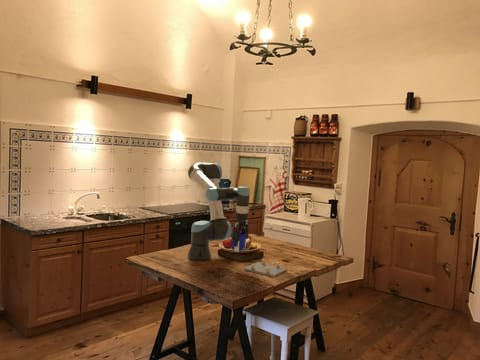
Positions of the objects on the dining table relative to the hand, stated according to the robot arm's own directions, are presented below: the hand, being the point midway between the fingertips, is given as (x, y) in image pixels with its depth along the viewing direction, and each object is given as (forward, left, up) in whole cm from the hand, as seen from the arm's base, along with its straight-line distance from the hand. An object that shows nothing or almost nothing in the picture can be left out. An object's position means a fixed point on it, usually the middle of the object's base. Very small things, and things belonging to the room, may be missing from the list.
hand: (239, 250), depth 242 cm
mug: (0, +1, -1) cm, 1 cm away
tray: (+14, +7, -11) cm, 19 cm away
